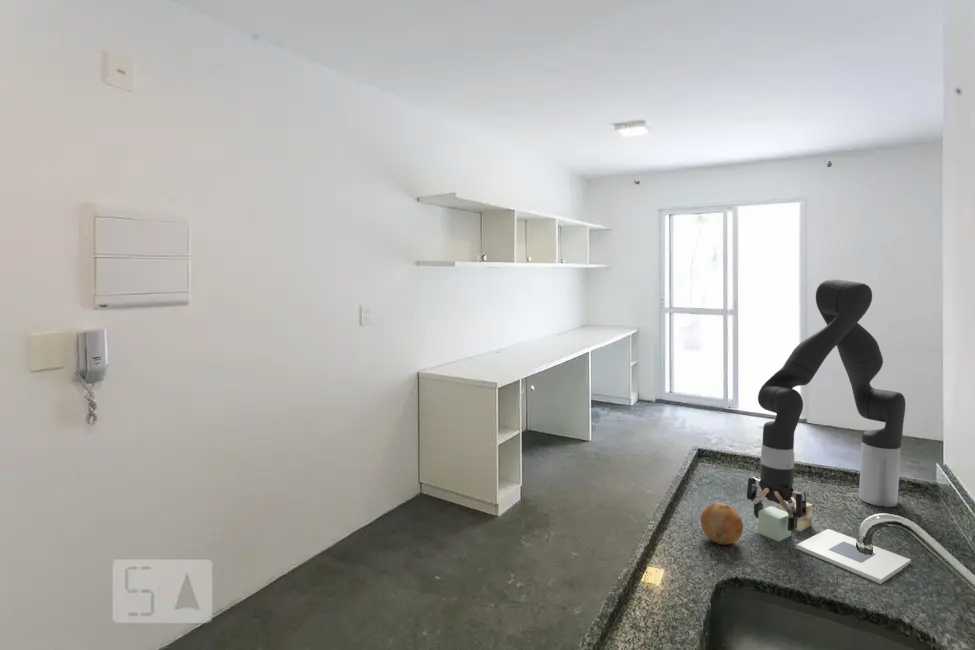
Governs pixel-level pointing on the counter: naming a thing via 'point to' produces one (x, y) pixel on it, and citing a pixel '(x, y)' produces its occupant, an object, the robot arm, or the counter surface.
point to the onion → (721, 523)
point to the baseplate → (853, 556)
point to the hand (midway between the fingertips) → (774, 523)
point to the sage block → (773, 523)
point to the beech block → (805, 520)
